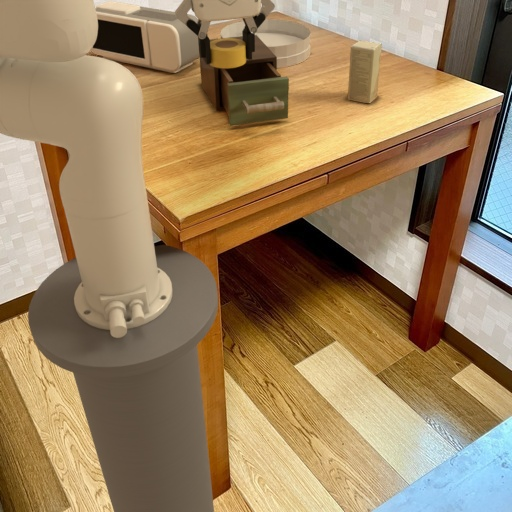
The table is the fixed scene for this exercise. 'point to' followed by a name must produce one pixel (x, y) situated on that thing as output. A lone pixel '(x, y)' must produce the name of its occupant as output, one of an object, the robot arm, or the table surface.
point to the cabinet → (259, 56)
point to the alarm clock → (144, 37)
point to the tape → (228, 53)
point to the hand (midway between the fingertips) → (227, 58)
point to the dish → (278, 39)
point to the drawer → (253, 93)
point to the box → (364, 71)
